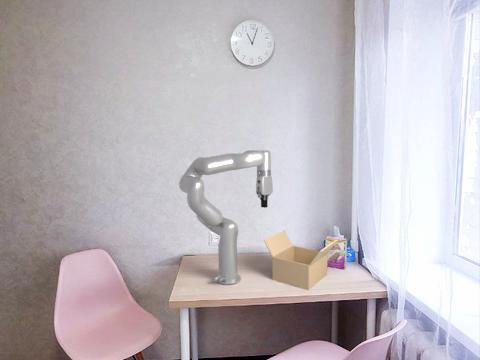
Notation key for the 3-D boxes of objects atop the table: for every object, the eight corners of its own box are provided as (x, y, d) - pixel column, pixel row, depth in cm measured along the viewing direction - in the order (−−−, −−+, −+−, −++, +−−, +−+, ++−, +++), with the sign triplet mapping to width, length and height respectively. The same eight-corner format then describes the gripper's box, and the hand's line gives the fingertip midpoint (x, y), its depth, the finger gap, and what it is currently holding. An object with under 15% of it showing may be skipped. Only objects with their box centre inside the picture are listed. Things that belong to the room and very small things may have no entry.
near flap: (309, 265, 145) (310, 265, 145) (320, 250, 141) (320, 251, 141) (326, 252, 162) (327, 253, 162) (337, 239, 158) (337, 240, 158)
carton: (308, 290, 146) (308, 265, 145) (272, 279, 159) (272, 257, 157) (327, 274, 164) (327, 252, 162) (293, 266, 176) (293, 245, 175)
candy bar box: (324, 266, 175) (324, 238, 173) (326, 263, 179) (326, 235, 177) (344, 270, 169) (345, 240, 167) (346, 266, 173) (347, 238, 172)
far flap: (264, 239, 160) (263, 239, 160) (272, 256, 158) (272, 256, 158) (284, 230, 176) (283, 230, 177) (292, 245, 174) (292, 246, 174)
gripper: (261, 175, 158) (262, 210, 160) (277, 172, 170) (277, 205, 172) (250, 174, 163) (250, 208, 165) (265, 172, 174) (266, 204, 176)
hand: (264, 207), depth 168 cm, fingers closed
